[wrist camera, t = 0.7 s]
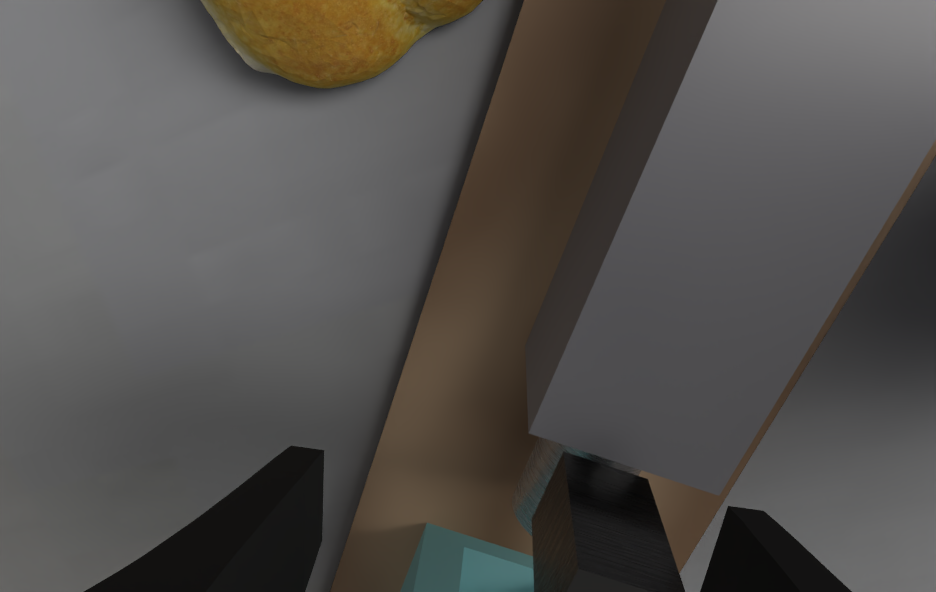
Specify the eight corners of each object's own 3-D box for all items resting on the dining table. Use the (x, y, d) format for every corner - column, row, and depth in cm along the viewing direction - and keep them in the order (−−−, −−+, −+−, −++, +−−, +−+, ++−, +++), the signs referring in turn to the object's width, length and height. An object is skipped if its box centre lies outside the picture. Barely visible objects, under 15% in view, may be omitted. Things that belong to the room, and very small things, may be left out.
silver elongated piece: (815, 72, 15) (1054, 69, 8) (596, 498, 20) (637, 708, 13) (704, 31, 15) (856, -4, 8) (512, 470, 20) (510, 669, 13)
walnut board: (1018, -25, 15) (1050, -32, 14) (571, 721, 26) (573, 744, 25) (586, -188, 15) (591, -206, 14) (314, 642, 26) (306, 663, 25)
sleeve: (887, -19, 15) (1058, -63, 10) (669, 394, 19) (719, 495, 15) (702, -89, 15) (789, -166, 10) (525, 345, 19) (528, 433, 14)
